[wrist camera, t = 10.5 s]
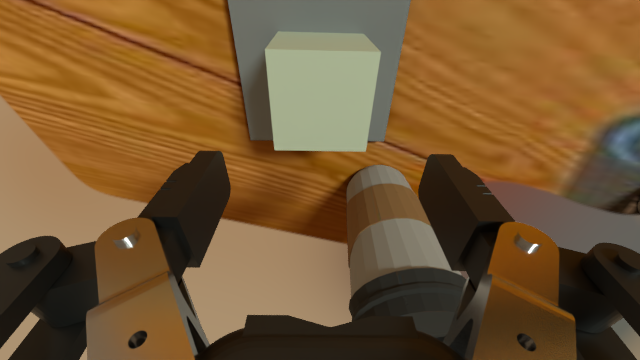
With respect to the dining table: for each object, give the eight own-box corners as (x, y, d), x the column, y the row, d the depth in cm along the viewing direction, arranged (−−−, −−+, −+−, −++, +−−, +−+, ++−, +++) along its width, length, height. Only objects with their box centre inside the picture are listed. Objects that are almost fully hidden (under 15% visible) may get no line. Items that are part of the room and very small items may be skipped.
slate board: (407, -10, 18) (412, -10, 17) (381, 136, 24) (383, 141, 23) (229, -14, 17) (225, -14, 16) (252, 134, 24) (250, 140, 23)
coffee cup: (411, 210, 30) (474, 359, 18) (340, 218, 31) (356, 366, 19) (417, 149, 25) (509, 299, 13) (332, 159, 26) (347, 312, 14)
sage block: (363, 33, 18) (381, 52, 13) (354, 114, 22) (365, 151, 17) (278, 31, 18) (264, 49, 13) (283, 113, 22) (274, 150, 17)
